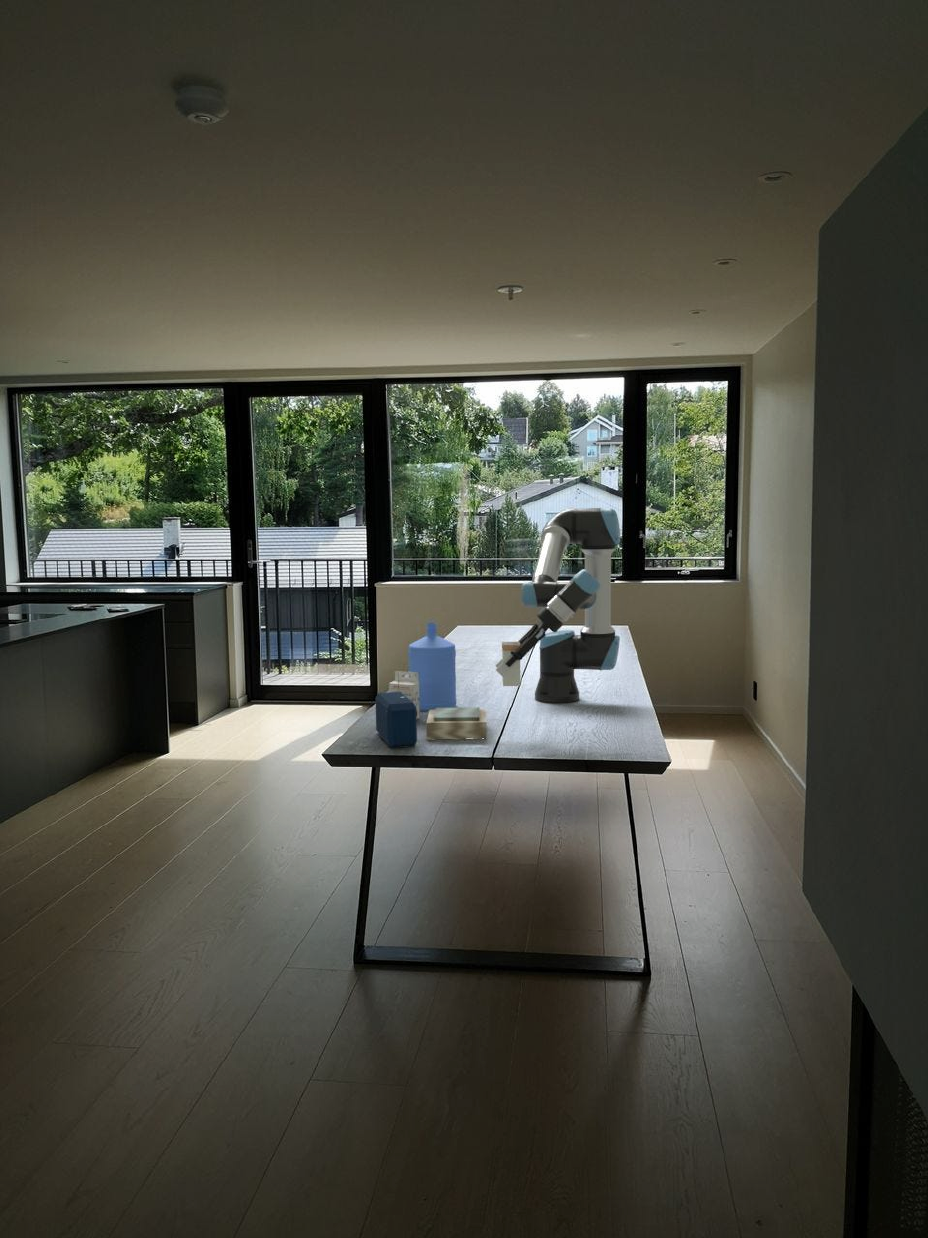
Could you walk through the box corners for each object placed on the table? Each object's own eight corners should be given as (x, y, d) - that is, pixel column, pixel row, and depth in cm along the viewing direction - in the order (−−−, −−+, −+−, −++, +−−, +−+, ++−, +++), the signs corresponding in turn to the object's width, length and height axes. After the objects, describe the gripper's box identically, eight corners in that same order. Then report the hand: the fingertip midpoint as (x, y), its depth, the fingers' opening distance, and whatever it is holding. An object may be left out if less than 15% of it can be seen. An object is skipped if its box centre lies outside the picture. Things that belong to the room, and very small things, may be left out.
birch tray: (486, 725, 278) (486, 706, 277) (486, 739, 261) (486, 718, 260) (430, 725, 278) (429, 706, 278) (426, 739, 261) (426, 719, 261)
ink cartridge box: (388, 720, 287) (387, 673, 285) (395, 716, 292) (394, 670, 290) (414, 721, 284) (413, 674, 283) (420, 718, 289) (419, 672, 287)
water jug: (446, 713, 295) (445, 627, 291) (401, 710, 300) (399, 625, 297) (463, 704, 309) (462, 621, 306) (420, 701, 315) (418, 619, 311)
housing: (519, 681, 271) (519, 641, 270) (520, 686, 265) (520, 644, 264) (502, 682, 271) (501, 641, 270) (502, 686, 265) (502, 645, 264)
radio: (420, 747, 253) (419, 675, 251) (389, 750, 251) (388, 678, 249) (403, 730, 273) (402, 663, 271) (374, 732, 271) (373, 665, 269)
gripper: (567, 628, 256) (509, 686, 259) (561, 619, 275) (507, 673, 278) (548, 609, 256) (489, 668, 258) (543, 601, 275) (489, 656, 277)
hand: (498, 670), depth 268 cm, fingers closed on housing, 6 cm apart
